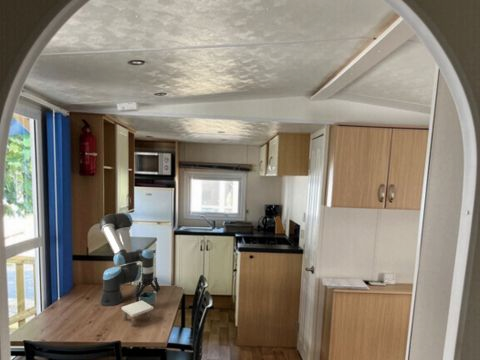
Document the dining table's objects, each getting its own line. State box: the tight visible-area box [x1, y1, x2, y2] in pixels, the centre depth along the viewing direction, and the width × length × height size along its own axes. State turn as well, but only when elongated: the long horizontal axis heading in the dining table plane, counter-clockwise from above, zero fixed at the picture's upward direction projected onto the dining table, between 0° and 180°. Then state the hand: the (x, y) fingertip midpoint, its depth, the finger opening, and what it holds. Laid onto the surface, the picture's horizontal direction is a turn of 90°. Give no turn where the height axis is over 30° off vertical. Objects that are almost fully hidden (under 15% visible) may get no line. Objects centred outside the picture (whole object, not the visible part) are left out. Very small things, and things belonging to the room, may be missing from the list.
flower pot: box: [139, 291, 156, 307], centre depth 196 cm, size 9×9×9 cm
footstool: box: [121, 300, 154, 327], centre depth 179 cm, size 14×14×8 cm
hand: (146, 303), depth 196 cm, fingers open, 12 cm apart
